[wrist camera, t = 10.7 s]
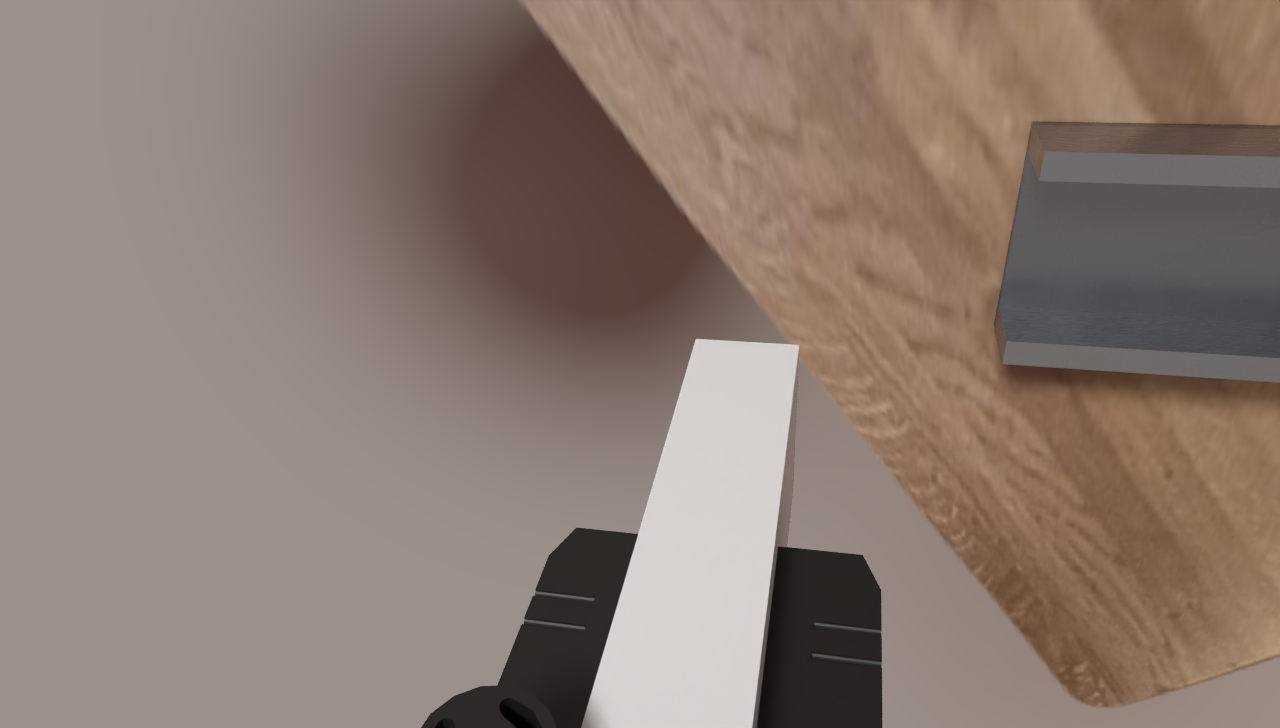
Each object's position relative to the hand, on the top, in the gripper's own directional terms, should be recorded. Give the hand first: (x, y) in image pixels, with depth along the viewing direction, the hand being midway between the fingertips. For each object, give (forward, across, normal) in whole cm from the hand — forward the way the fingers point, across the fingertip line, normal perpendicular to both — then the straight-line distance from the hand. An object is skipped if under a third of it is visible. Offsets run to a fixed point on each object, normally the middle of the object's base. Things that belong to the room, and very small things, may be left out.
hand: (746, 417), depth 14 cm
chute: (+28, +21, -10) cm, 36 cm away
